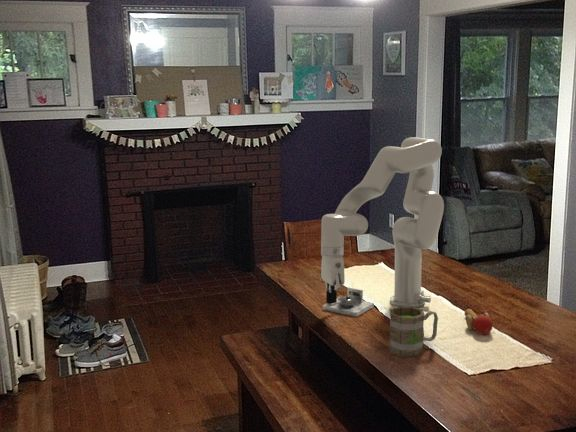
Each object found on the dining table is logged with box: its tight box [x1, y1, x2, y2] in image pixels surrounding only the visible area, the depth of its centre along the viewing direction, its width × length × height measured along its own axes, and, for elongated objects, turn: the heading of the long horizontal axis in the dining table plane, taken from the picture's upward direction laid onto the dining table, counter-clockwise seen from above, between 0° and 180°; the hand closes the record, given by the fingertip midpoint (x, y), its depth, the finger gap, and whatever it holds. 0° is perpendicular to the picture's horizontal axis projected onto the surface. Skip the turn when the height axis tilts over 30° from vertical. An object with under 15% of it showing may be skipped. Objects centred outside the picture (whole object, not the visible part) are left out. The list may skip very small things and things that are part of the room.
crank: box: [325, 295, 355, 307], centre depth 231 cm, size 12×6×8 cm, turn 128°
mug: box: [388, 306, 439, 358], centre depth 197 cm, size 16×11×12 cm
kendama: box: [464, 308, 494, 335], centre depth 215 cm, size 8×6×18 cm
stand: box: [322, 287, 375, 318], centre depth 234 cm, size 14×12×6 cm
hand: (331, 302), depth 225 cm, fingers closed
